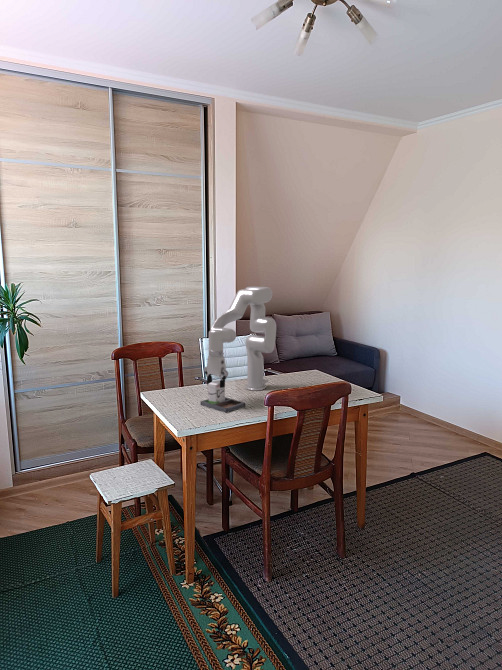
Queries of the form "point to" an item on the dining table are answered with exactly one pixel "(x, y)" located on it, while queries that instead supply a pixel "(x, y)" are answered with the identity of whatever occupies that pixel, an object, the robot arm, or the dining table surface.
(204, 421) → the dining table surface
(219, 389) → the ink box
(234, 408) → the rail frame
